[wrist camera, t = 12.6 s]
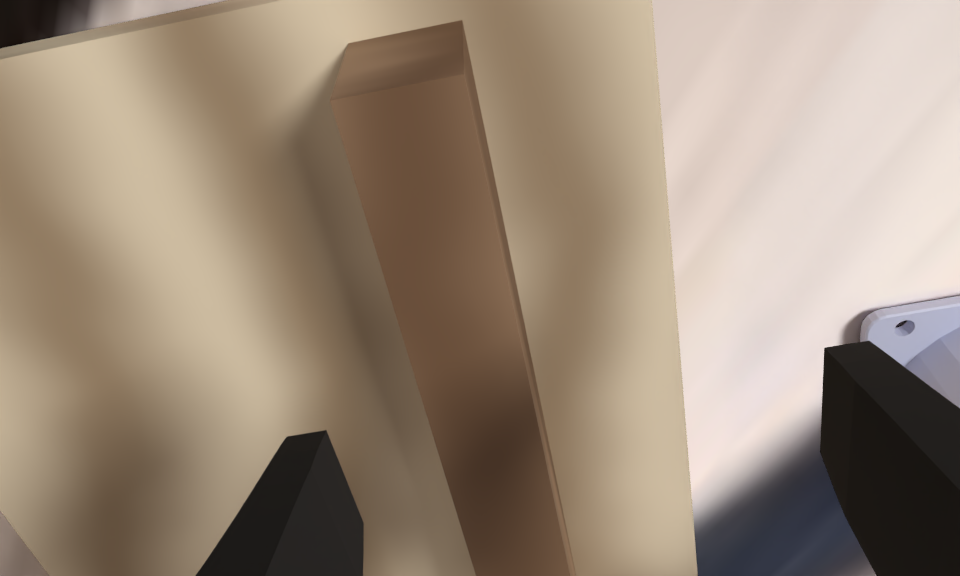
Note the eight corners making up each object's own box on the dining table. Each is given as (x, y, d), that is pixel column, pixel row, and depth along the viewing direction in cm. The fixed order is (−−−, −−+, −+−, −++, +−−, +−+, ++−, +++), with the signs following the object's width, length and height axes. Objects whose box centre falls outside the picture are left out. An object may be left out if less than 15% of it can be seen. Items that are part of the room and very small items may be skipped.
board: (636, -87, 17) (645, -77, 16) (706, 738, 35) (712, 763, 34) (-259, 103, 19) (-292, 120, 18) (239, 798, 36) (234, 823, 36)
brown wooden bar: (462, 19, 17) (463, 74, 15) (575, 574, 27) (589, 667, 24) (348, 43, 17) (329, 100, 15) (502, 585, 27) (507, 678, 25)
